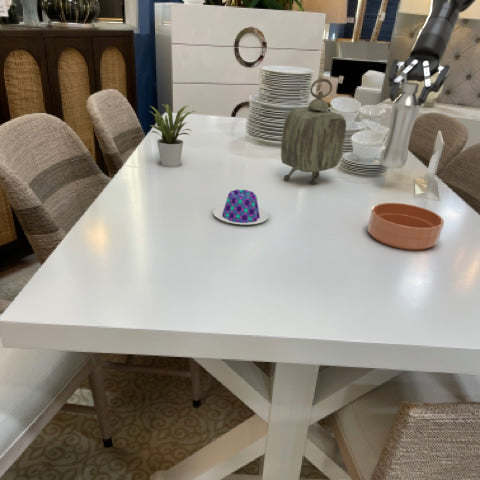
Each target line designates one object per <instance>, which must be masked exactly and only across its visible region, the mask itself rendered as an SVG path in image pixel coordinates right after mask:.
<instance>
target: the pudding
mask: <svg viewBox="0 0 480 480" xmlns="http://www.w3.org/2000/svg"><path fill="white" fill-rule="evenodd" d="M212 213H213V215H214V216H215V218H217V219H218V220H221V221H223V222H226V223H228V224H229V223H230V224H235V225H244V226H245V225H257V224H261V223H264V222H265V221H267V220H268V219H269V213H268V212H267V211H266V210H265V209H263V208H260V207H259V203H258V197H257V195H256V193H254V192H253V191H251V190H247V189H234V190H230V191H229V193H228V194H227V198H226V201H225V204H223V205H219V206H217V207H215V208H214V209H213V212H212Z"/></svg>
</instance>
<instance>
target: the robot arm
mask: <svg viewBox="0 0 480 480" xmlns="http://www.w3.org/2000/svg"><path fill="white" fill-rule="evenodd" d="M476 1H477V0H431V5H430V12H429V14H428V16H427V18H426V20H425V23H424V25H423V27H422V28H421V29H420V31H419V33H418V35H417V37H416V40H415V42H414V45H413V47H412V49H411V50H410V52H409V56H408V58H406V59H405V60H404V61H399V59H397V58H394V59H393V60H392V63H391V66H390V70H389V74H388V79H387V80H388V86H389V87H391V89H390V91H389V100H390V102H393V103H394V102H395V101H396V99H397V98H398V97H397V96H398V95H399V92H400V88H402V86H403V83H410V81H411V82H419V83H423V87H422V89H421V91H420V93H419V96H418V97H417V99H418V105H420V107H421V106H422V104H425V103H426V101H427V99H428V97H429V94H430V93H432V92H433V93H439V91H440V89H441V88H442V87H443V85H444V83H445V82H446V80H447V79H448V77H449V76H450V69H451V68H450V67H451V66H450V65H449V64H445V65H444V66H441V65H440V63H441V62H442V59H443V57H444V55H445V53H446V50H447V48H448V46H449V43H450V42H451V39H452V35H453V32H454V30H455V28H456V26H457V23H458V20H459V19H460V14H461V13H464V12H465V11H467V10H468V9H469V8H470V7H471V6H472V5H473V4H474V3H475V2H476ZM402 69H403V70H402ZM401 70H402V71H401ZM398 73H400V74H399V75H398ZM437 73H438V75H437V77H436V79H435V80H434V82H433V83H432V82H431V77H433V76H435V75H436V74H437Z"/></svg>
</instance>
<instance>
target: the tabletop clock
mask: <svg viewBox="0 0 480 480" xmlns="http://www.w3.org/2000/svg"><path fill="white" fill-rule="evenodd" d="M318 83H326V84H328V85H329V91H328V92H326V93H324V92H323V91H322V90H320V91H318V94H316V93H314V92H313V88H314V86H315V85H316V84H318ZM309 90H310V94H311V96H312V97H313V98H314V99H312V100H311V101H310V102H309V104H308V107H307V106H306V107H300V108H295V109H292V110H290V111H289V112H287V115H286V117H285V120H284V123H283V127H282V134H281V141H280V142H281V143H280V160H281V163H282V164H284V165H286V166H289V167H290V168H291V170H290V171H289V173H287V174H285V175H283V180H284V181H285V182H288V181H289V180H290V179H291V175H292V174H293V173H295V172H297V171H300V172H302V173H311V177H312V178H310V184H311V185H316V184H317V178H315V177H319V176H320V172H323V171H327V170H330V169H334V168H335V167H337V166H338V165H339V163H340V161H341V158H342V154H343V148H344V144H345V139H346V131H347V122H346V119H345V117H344V115H342V114H341V113H337V112H333V111H330V110H329V104H328V102H327V100H325V99H324V98H326V97H328V96H329V95H330V94H331V92H332V90H333V85H332V82H331V80H329V79H328V78H318V79H316V80H314V81H313V82H312V83H311V86H310V89H309Z"/></svg>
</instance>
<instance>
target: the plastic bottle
mask: <svg viewBox="0 0 480 480" xmlns="http://www.w3.org/2000/svg"><path fill="white" fill-rule="evenodd" d="M419 87H420V84H419V83H415V82H408V83H403V86H402V87H401V90H400V92H401V94H399V96H398V97H396V99H395V101H394V102H393V103H392V105H391V113H390V122H389V129H388V133H387V137H386V140H385V143H384V147H383V148H382V150H381V153H380V160H379V161H380V165H381V166H383V167H386V168H388V169H402V168H403V167H404V166H405V165H406V163H407V160H408V153H409V151H408V150H409V145H410V140H411V139H410V137H411V135H412V131H413V128H414V125H415V122H416V120H417V117H418V114H419V112H420V109H421V108H420V107H421V106H420V105H418V97H417V94H418V93H419Z"/></svg>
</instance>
